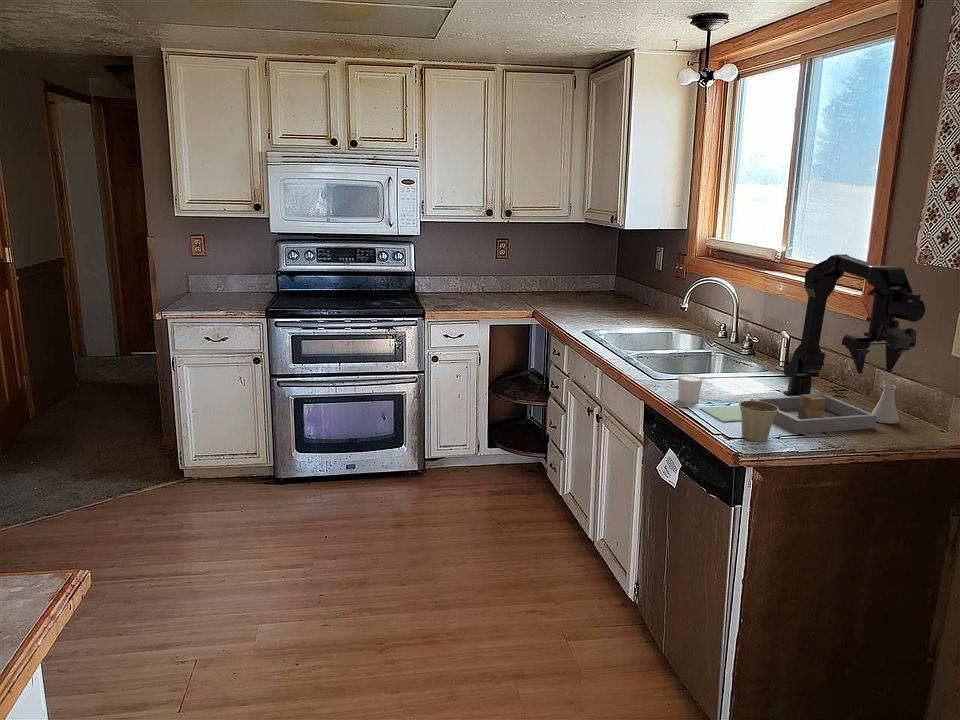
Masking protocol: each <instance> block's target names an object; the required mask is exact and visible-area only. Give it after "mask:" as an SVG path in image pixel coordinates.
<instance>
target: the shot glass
mask: <svg viewBox="0 0 960 720" xmlns="http://www.w3.org/2000/svg"><path fill="white" fill-rule="evenodd" d="M677 378H678V402H680V403H682V404H687V405H693V404H697V403H699V400H700V399H699V398H700V394H701V389H702V385H703V384H702V383H703V378H701V377H699V376H694V375H681V376H678V377H677Z"/></svg>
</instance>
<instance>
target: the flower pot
mask: <svg viewBox="0 0 960 720" xmlns="http://www.w3.org/2000/svg"><path fill="white" fill-rule="evenodd" d="M738 406H739V407H740V410H741V415H742V421H741V437H742V438H743V439H744V440H745V439H747V440H748V441H750V442H755V443H762V442H763V443H764V441H765V442H767V441H768V439H769V436H770V432H771V429H772V427H773V426H772V425H773V423H774V422H773V419H774V416H775V415H776V412H777V411H778V410H779V408H778V407H777V406H775V405H773V404H770V403H766V402H761V401H751V400H743V401H740V402H739V403H738Z"/></svg>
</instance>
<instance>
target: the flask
mask: <svg viewBox="0 0 960 720" xmlns="http://www.w3.org/2000/svg"><path fill="white" fill-rule="evenodd" d="M882 387H883V391H882V394H881V396H880V399H879V400H878V402H877V404H876V405H875V407H874V409H873V410H872V412H871V413H872V414H874V415H876V416H877V418H876V423H880V424H890V425H894V424H900V418H899V417H900V416H899V415H898V410H897V405H896V402H895V399H896V398H895V391H896V389H897V386H896V385H893V384H883V385H882Z"/></svg>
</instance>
